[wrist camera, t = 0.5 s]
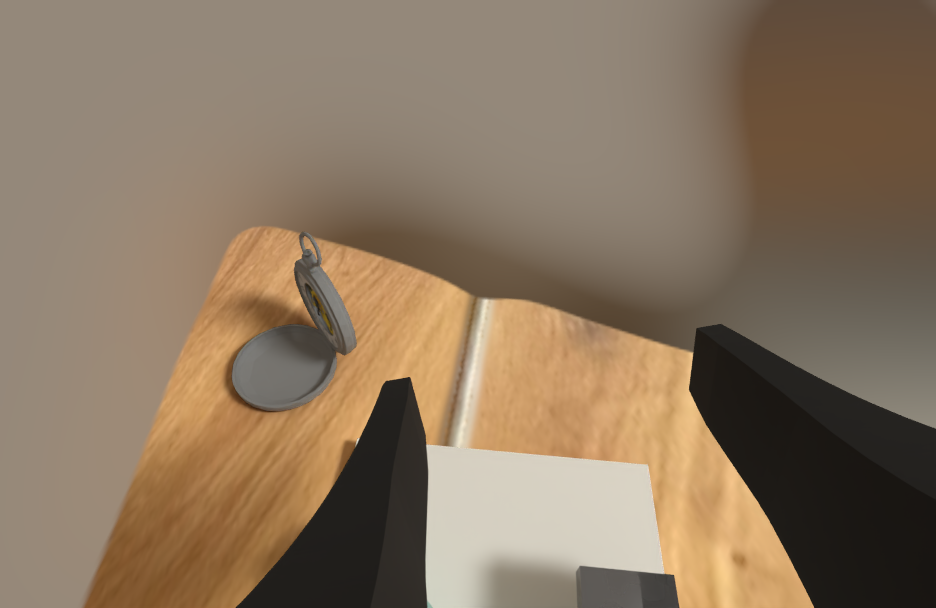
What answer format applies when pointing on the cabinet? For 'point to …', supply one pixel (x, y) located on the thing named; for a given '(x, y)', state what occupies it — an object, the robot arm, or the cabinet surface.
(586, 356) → the cabinet surface
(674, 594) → the block
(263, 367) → the pocket watch
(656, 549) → the board
